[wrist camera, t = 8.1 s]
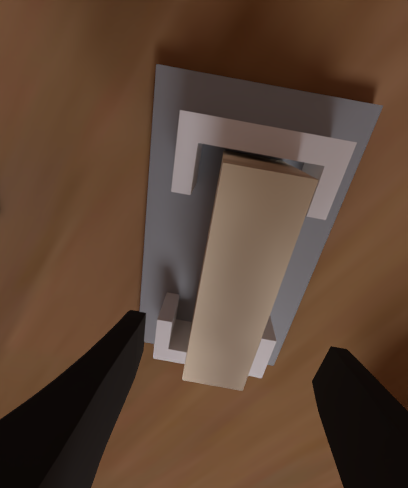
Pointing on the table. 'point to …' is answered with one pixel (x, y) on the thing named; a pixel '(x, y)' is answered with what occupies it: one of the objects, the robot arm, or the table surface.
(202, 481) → the table surface
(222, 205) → the beige rectangular block
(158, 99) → the board
